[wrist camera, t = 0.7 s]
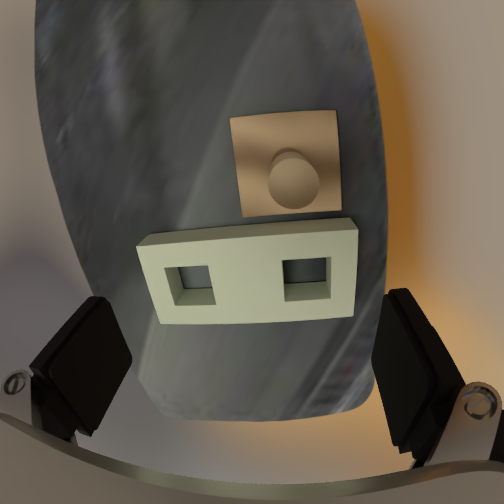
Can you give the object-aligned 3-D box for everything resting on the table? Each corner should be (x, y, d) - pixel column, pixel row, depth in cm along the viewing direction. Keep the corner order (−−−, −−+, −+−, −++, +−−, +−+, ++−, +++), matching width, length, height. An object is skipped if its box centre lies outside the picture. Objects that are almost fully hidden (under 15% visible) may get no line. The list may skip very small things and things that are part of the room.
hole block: (149, 234, 31) (136, 246, 28) (349, 217, 29) (358, 229, 25) (169, 306, 35) (160, 323, 32) (347, 298, 33) (353, 316, 29)
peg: (269, 148, 26) (265, 161, 17) (303, 146, 26) (317, 157, 16) (273, 181, 27) (270, 211, 18) (306, 178, 27) (320, 207, 18)
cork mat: (230, 118, 25) (229, 118, 25) (334, 110, 24) (335, 110, 24) (243, 215, 30) (242, 217, 29) (340, 208, 28) (341, 210, 28)
